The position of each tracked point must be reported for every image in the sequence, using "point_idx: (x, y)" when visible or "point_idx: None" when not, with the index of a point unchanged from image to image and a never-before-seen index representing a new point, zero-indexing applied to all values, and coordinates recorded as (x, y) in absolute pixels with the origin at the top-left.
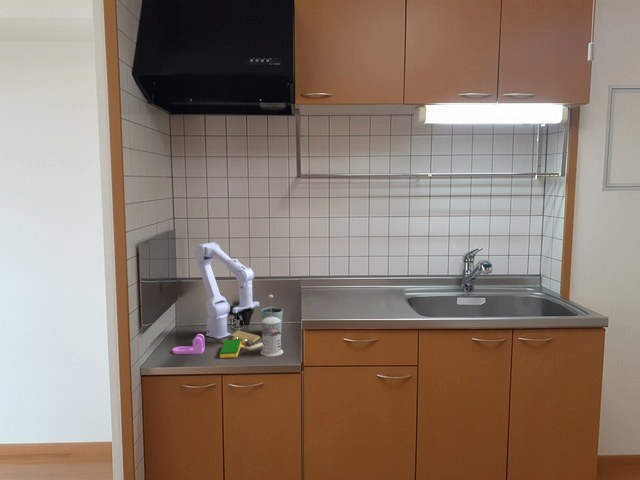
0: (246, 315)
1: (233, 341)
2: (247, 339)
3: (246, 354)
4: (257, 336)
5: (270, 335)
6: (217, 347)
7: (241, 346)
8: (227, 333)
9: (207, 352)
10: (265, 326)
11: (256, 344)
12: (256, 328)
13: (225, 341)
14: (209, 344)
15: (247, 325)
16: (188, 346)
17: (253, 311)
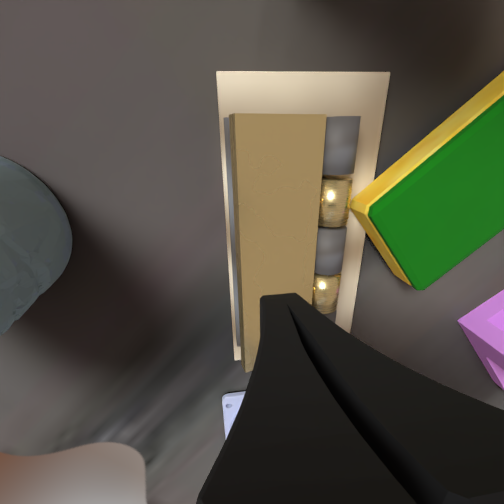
0: (459, 395)
1: (425, 227)
2: (316, 191)
3: (457, 30)
4: (249, 133)
5: (33, 183)
6: (415, 294)
7: (373, 174)
8: (234, 412)
9: (497, 272)
10: (12, 257)
11: (279, 107)
12: (23, 393)
13: (439, 273)
14: (394, 353)
15: (292, 293)
16: (496, 373)
17: (234, 491)
